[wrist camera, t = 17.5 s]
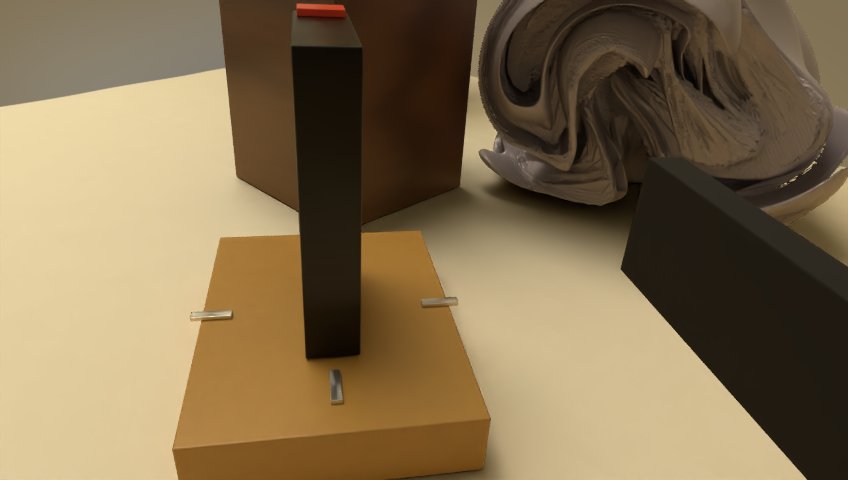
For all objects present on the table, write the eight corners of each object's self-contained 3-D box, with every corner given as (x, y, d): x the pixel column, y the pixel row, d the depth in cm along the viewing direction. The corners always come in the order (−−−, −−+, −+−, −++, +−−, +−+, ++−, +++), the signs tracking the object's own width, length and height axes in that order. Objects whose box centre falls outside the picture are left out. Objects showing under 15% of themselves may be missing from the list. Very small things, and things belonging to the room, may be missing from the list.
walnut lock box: (338, 234, 32) (334, -38, 26) (236, 176, 38) (212, -57, 32) (460, 186, 39) (481, -41, 32) (357, 143, 44) (357, -56, 38)
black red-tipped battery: (360, 355, 20) (363, 36, 15) (305, 360, 20) (289, 34, 15) (348, 268, 25) (347, 4, 20) (303, 271, 24) (291, 2, 20)
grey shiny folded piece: (808, 222, 40) (881, -19, 36) (833, 298, 25) (962, -100, 21) (524, 169, 49) (554, -30, 44) (417, 202, 34) (448, -93, 30)
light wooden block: (494, 468, 19) (503, 413, 18) (169, 505, 17) (157, 446, 16) (425, 269, 29) (428, 226, 28) (217, 279, 28) (211, 234, 26)
